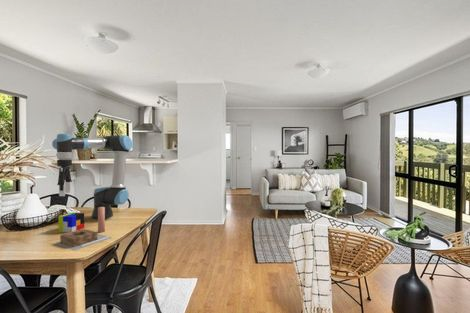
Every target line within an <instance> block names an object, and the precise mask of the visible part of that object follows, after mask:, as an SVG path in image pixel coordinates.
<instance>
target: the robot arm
mask: <svg viewBox="0 0 470 313" xmlns="http://www.w3.org/2000/svg"><path fill="white" fill-rule="evenodd" d="M51 145H52V147H53V148H54V149H55V150H56V154H55V156H56V159H57V160H56V165H57V167H59V168H58V169H59V170H58V179H57V184H56V185H57V186H58V196H59V197H65V196H66V193H71V191H72V190H71V183H72V182H73V181H72V176H71V171H70V170H71V166H72V165H73V150H75V151H79V150H81V151H83V150H87V149H99V150H108V151H109V150H110V151H111V152H112V153H113V154H114V156H113V168H112V180H111V185H109V186H104V187H98V188H94V190H93V210H92V213H91V219H94V220H98V207H105V219H109V218H112V217H113V216H114V212H113V210H112V205H117V206H119V205H124V204H125V203H126V202H127V201H128V200H129V195H130V194H129V191H128V190H127V187H126V185H125V179H126V178H125V177H126V174H125V173H126V162H127V155H128V154H129V153H130V152H129V151H130V150H132V148H133V140H132V138H131V137H130V136H128V135H124V134H121V135H119V134H118V135H112V134H111V135H107V136H105V135H104V136H97V137H73V136H72V134H71V133H58V134H57V135H56V138H54V139H53V140H52V144H51Z"/></svg>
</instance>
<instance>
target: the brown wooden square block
mask: <svg viewBox="0 0 470 313" xmlns="http://www.w3.org/2000/svg"><path fill="white" fill-rule="evenodd" d="M97 234H98V231H95V230H94V231H93V230H91V229H86V228H83V229H80V230H77V231H73V232H66V233H64V234H59V236H60V237H59V238H60V241H59V242H60V243H61V244H65V245H68V246H72V247H77V246H80V245H83V244H86V243H89V242H92V241H95V240H98V239H97Z"/></svg>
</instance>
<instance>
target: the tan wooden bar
mask: <svg viewBox="0 0 470 313" xmlns="http://www.w3.org/2000/svg"><path fill="white" fill-rule="evenodd" d="M105 220H106V218H105V207H98V219H97V234H98V233H101V234H102V233H105V231H106V223H105V222H106V221H105Z"/></svg>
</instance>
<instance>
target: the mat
mask: <svg viewBox="0 0 470 313" xmlns="http://www.w3.org/2000/svg"><path fill="white" fill-rule="evenodd" d="M105 237H109V238H106V239H103V240H100V241H97V242H94V243H91V244H88V245H85V246H81V245H80V246H77V247H72V246H68V245H65V244H61V243H60V241H59V242H54V243H53V245H54V246H59V247H62V248H66V249H69V250H72V251H78V250H80V249H83V248H86V247H90V246H92V245H95V244H98V243H101V242H104V241H107V240H110V239H112V238H113V237H112V236H109V235H108V236H107V235H104V234H98V233H97V239H98V240H99V239H102V238H105ZM95 241H96V240H95ZM92 242H93V241H92ZM89 243H90V242H89ZM86 244H87V243H86ZM83 245H84V244H83Z"/></svg>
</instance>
